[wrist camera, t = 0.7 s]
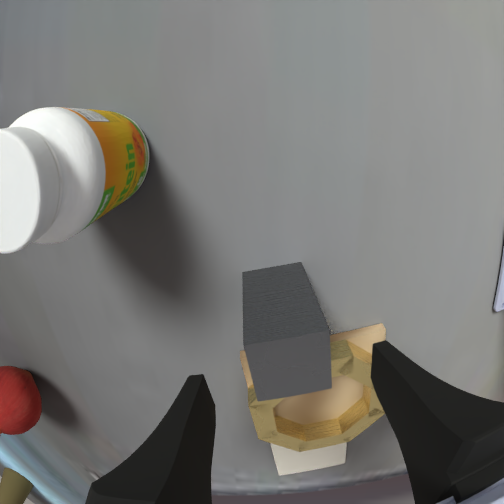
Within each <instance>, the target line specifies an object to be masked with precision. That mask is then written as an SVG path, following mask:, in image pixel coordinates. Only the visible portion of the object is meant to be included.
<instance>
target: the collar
mask: <svg viewBox="0 0 504 504" xmlns="http://www.w3.org/2000/svg"><path fill="white" fill-rule="evenodd" d="M330 348H331V373H332V377H337V376H341V375H345V376H347V377H349V378H351V379H353V380H355V381H357V382H359V383H362V384H363V396H362V398H361V399H359V400H358V401H357V402H356V403H355V404H354V405H352V406H351V407H350V408H349V409H348V410H346V411H345V412H344V413H343V414H342V415H340V416H339V417H338V418H335V419H330V420H325V421H321V422H316V423H311V424H305V425H302V424H299V423H296V422H294V421H291V420H288V419H286V418H283V417H280V416H278V415H275V410H274V407H275V406H276V405H277V404H278V403H280V402H281V401H282V400H283V399H284V398H279V399H272V400H266V401H259V402H258V401H257V397H256V393H255V389H254V385H253V384H252V385H251V386H250V387H249V388H248V403H249V409H250V412H251V415H252V419H253V422H254V425H255V429H256V432H257V435H258V439H260V440H263V441H266V442H269V443H272V444H275V445H278V446H281V447H285V448H288V449H291V450H295V451H298V452H303V451H308V450H313V449H318V448H323V447H328V446H333V445H337V444H341V443H346V442H349V441H351V440H352V439H353V438H355V437H356V436H357V435H359V434H360V433H361V432H363V431H364V430H365V429H366V428H368V427H369V426H370V425H371V424H373V423H374V422H375V421H376V420H378V419H379V418H380V417H381V416H382V415H384V414H385V412H384V410H383V408H382V406H381V404H380V402H379V400H378V398H377V395H376V392H375V389H374V386H373V383H372V380H371V364H372V354H370V353H369V352H367V351H365V350H364V349H362V348H360V347H358V346H357V345H355V344H353V343H351V342H350V341H348V340H346V339H344V340H340V341H335V342H330Z"/></svg>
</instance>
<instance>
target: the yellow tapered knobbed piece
mask: <svg viewBox="0 0 504 504" xmlns="http://www.w3.org/2000/svg"><path fill="white" fill-rule="evenodd" d="M32 488H33V485H32V483H31V482H30V481H29V480H27V479H26V478H25V477H23V476H22V475H20V474H19V473H17V472H16V471H14V470H12V469H9V468H4V472H3V475H2V479H1V483H0V504H23V503H24V501H25V499H26V498H27V496H28V495H29V493H30V491H31V490H32Z"/></svg>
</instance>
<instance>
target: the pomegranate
mask: <svg viewBox="0 0 504 504" xmlns="http://www.w3.org/2000/svg"><path fill="white" fill-rule="evenodd" d="M41 412H42V405H41V396H40V393H39V390H38V388H37V386H36V384H35V382H34V379H33V376H32V374H31V373H30V372H29V371H27V370H23V369H20V368H17V367H13V366H1V367H0V434H1V433H4V434H9V435H15V434H22V433H24V432H26V431H28V430H29V429H31V428H32V427H33V426H35V425H36V423H37V422H38V420H39V419H40V415H41Z"/></svg>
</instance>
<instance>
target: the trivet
mask: <svg viewBox="0 0 504 504" xmlns="http://www.w3.org/2000/svg"><path fill="white" fill-rule="evenodd" d="M270 444H271V447H272V451H273V455H274V459H275V462H276V466H277V470H278V473H279V475H286V474H293V473H299V472H305V471H310V470H316V469H321V468H326V467H330V466H335V465H339V464H343V463H345V458H346V446H347V442H346V443H341V444H337V445H333V446H328V447H323V448H318V449H313V450H308V451H303V452H298V451H295V450H291V449H288V448H285V447H281V446H278V445H275V444H272V443H270Z"/></svg>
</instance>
